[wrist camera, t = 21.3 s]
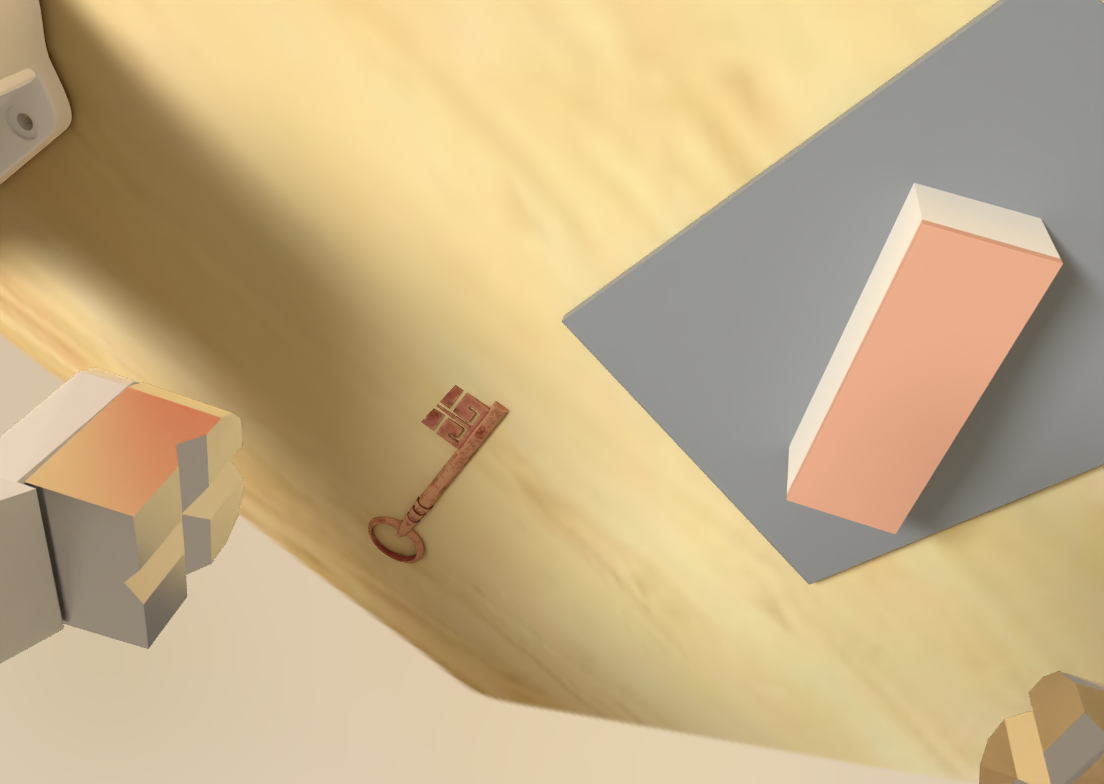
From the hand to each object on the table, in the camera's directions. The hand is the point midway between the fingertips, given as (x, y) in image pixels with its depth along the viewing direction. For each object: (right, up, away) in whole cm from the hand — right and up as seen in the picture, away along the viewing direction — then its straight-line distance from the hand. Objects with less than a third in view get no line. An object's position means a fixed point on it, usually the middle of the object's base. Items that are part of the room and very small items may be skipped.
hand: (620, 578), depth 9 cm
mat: (+15, +4, +30) cm, 34 cm away
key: (-8, -3, +43) cm, 44 cm away
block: (+13, -3, +33) cm, 35 cm away
